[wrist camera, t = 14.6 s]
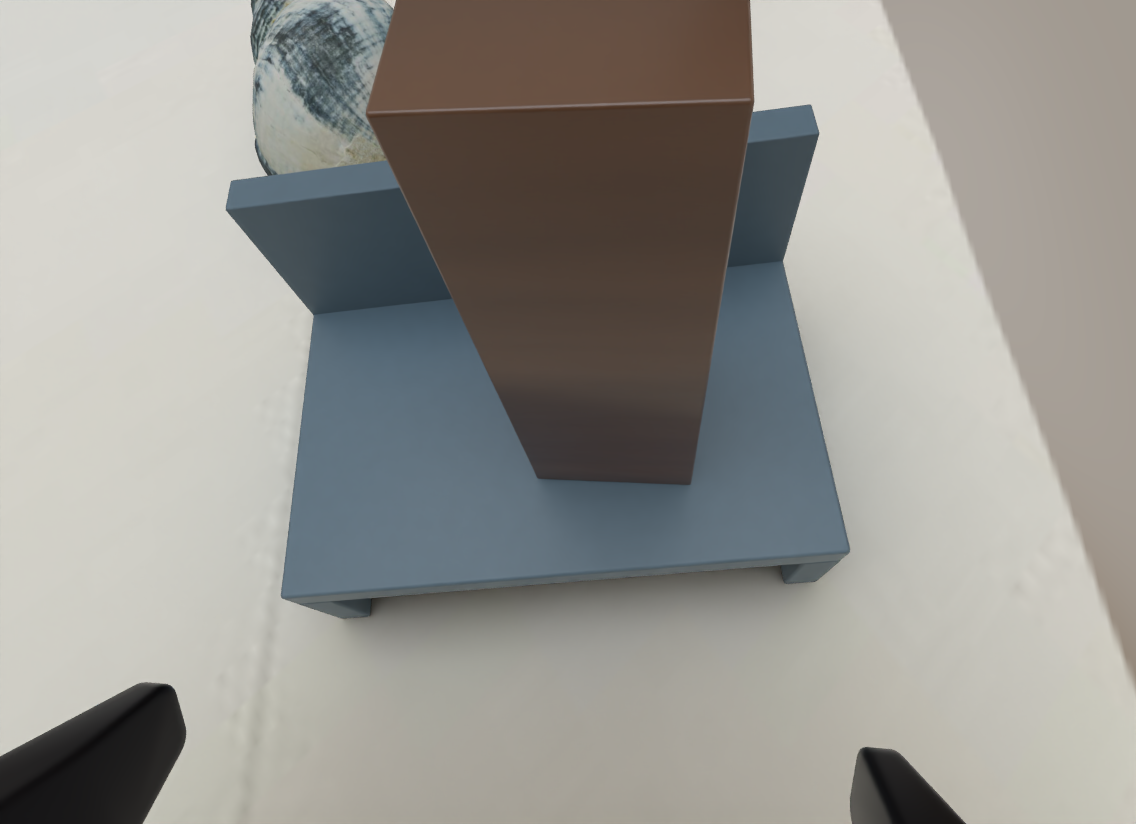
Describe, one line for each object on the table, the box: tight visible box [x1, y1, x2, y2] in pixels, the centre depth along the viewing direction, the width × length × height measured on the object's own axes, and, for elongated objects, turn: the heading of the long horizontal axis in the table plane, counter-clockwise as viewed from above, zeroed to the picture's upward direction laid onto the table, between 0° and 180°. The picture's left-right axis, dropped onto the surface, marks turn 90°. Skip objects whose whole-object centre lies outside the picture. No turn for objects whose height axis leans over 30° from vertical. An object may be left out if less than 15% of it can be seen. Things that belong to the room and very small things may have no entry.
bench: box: [226, 105, 850, 618], centre depth 19 cm, size 10×15×9 cm, turn 94°
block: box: [366, 0, 754, 485], centre depth 14 cm, size 4×4×12 cm
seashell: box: [250, 0, 393, 176], centre depth 28 cm, size 6×8×12 cm
